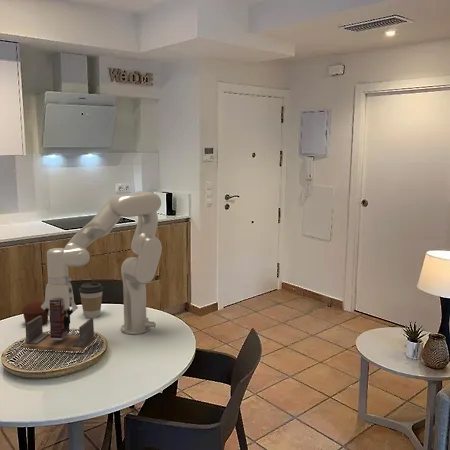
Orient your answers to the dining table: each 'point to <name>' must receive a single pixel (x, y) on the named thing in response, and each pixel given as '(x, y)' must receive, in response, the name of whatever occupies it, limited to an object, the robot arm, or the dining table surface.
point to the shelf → (69, 342)
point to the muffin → (34, 312)
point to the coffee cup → (91, 299)
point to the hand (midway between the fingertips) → (60, 324)
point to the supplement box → (57, 320)
